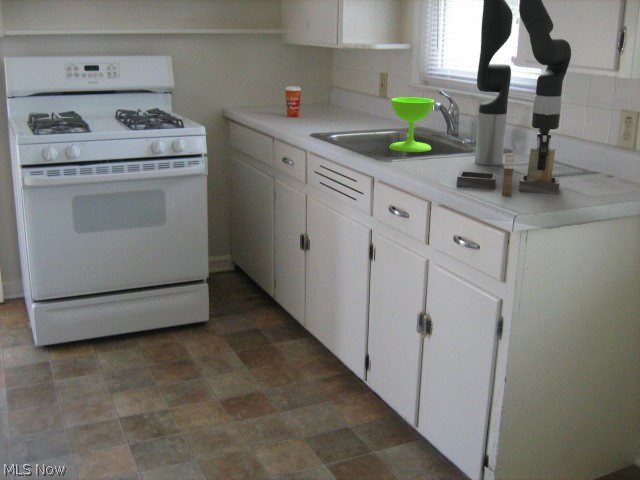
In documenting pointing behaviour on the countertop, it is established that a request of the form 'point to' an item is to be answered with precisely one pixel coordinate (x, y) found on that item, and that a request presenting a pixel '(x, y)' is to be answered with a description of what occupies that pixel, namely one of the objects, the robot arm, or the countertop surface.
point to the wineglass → (411, 120)
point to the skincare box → (537, 174)
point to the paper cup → (293, 100)
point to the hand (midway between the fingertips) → (540, 167)
